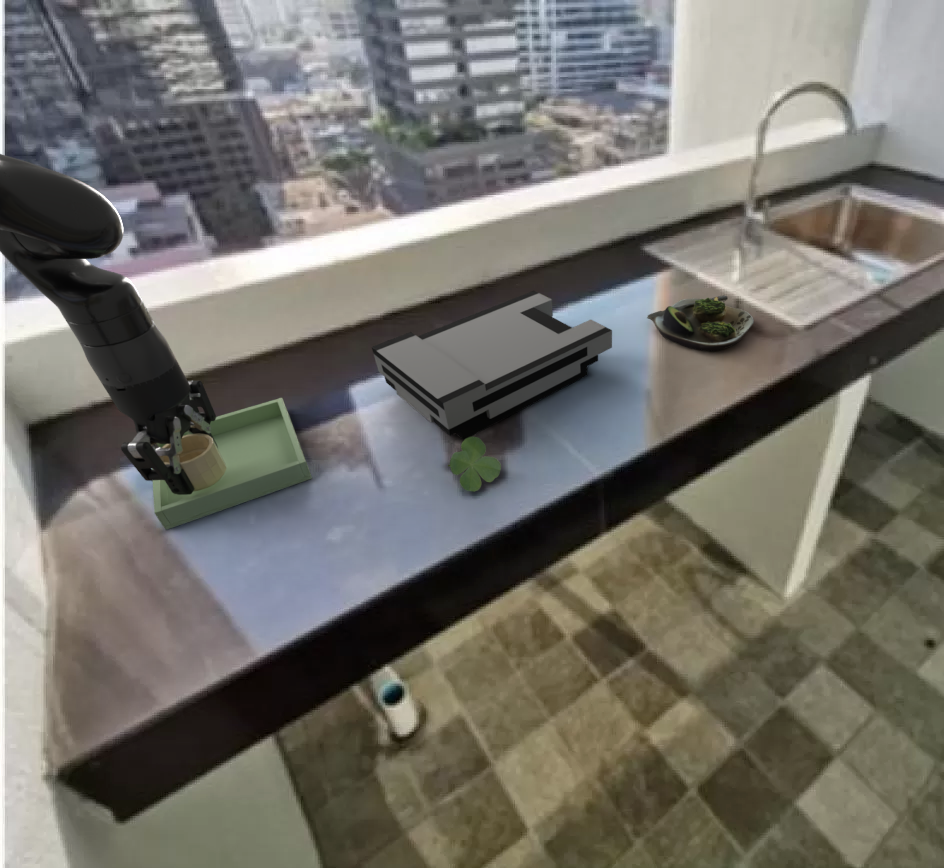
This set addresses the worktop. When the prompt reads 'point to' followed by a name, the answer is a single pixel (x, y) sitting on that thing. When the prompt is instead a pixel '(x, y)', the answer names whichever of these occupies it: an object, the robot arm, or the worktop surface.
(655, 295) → the worktop surface
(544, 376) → the game console
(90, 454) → the worktop surface
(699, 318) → the salad plate
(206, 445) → the beige cup
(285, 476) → the tray
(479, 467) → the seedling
